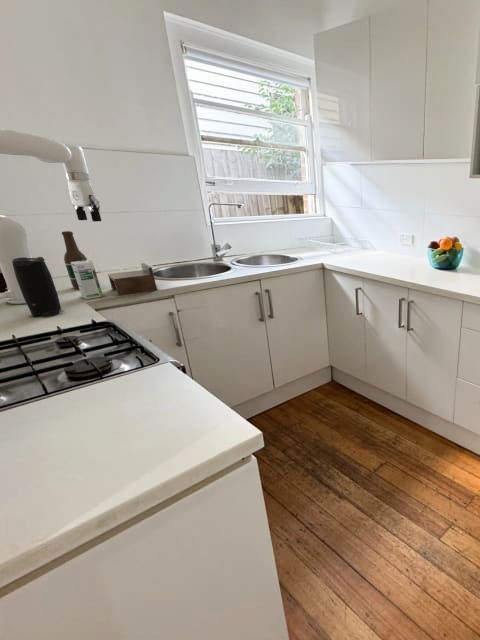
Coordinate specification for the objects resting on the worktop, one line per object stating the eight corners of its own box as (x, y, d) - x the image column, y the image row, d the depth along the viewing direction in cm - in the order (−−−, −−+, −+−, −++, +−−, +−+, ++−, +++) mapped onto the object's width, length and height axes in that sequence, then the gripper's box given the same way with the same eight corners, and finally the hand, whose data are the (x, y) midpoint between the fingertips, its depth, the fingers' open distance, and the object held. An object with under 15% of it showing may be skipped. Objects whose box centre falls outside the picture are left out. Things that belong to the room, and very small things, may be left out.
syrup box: (86, 299, 152) (74, 263, 146) (81, 296, 155) (70, 261, 150) (103, 296, 156) (92, 261, 151) (98, 294, 159) (88, 259, 154)
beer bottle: (99, 286, 172) (83, 231, 162) (81, 290, 165) (63, 233, 156) (86, 284, 173) (69, 230, 164) (68, 288, 166) (49, 232, 157)
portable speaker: (44, 318, 130) (23, 261, 122) (23, 316, 132) (1, 259, 124) (70, 311, 138) (51, 257, 130) (50, 309, 140) (31, 255, 132)
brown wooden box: (118, 295, 158) (112, 271, 154) (112, 289, 166) (105, 266, 163) (157, 290, 167) (151, 267, 164) (149, 284, 176) (144, 263, 172)
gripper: (55, 177, 158) (67, 220, 164) (81, 177, 152) (92, 222, 158) (76, 177, 164) (87, 219, 170) (101, 178, 158) (112, 221, 164)
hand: (90, 220), depth 164 cm, fingers open, 9 cm apart
